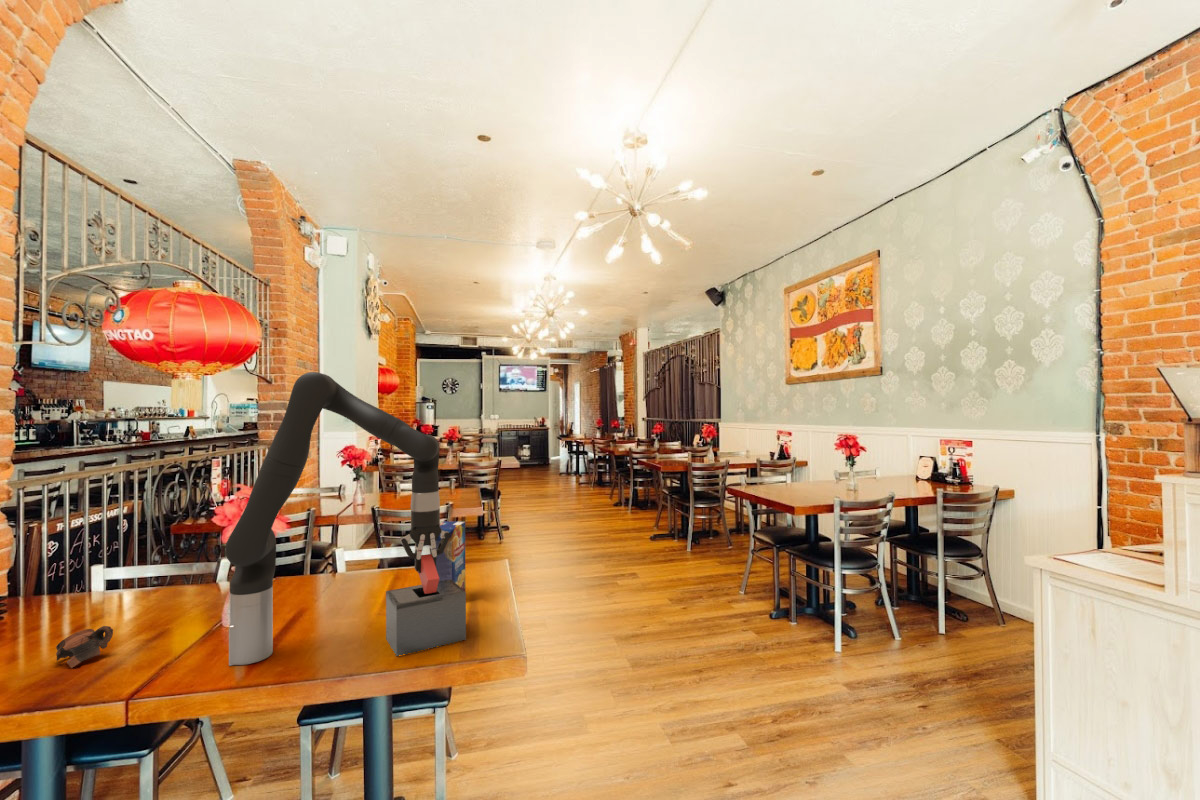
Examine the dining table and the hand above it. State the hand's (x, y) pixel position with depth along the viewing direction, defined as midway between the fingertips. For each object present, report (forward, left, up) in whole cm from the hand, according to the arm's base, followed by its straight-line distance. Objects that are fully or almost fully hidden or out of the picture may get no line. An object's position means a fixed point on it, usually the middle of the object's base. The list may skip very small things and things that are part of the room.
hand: (425, 571), depth 146 cm
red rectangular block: (0, -6, -2) cm, 7 cm away
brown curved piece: (-73, +33, -19) cm, 82 cm away
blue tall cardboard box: (+15, +29, -19) cm, 38 cm away
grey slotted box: (0, 0, -19) cm, 19 cm away
